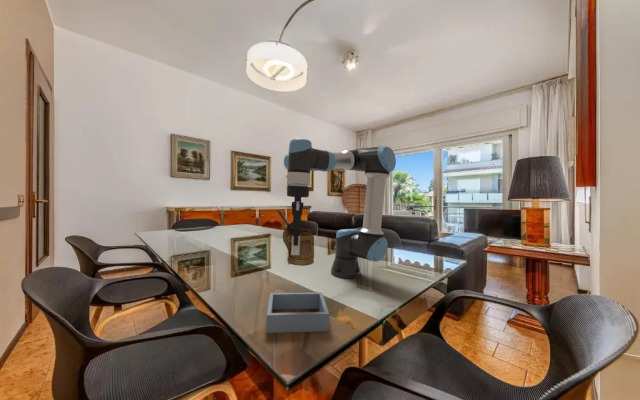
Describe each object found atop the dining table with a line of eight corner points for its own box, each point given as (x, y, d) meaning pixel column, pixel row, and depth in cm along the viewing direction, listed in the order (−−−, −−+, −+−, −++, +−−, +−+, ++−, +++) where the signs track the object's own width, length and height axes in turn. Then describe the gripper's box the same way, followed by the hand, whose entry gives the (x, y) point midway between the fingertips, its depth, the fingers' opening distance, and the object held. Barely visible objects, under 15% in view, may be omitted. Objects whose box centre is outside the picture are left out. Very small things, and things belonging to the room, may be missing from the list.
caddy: (321, 306, 92) (322, 292, 92) (328, 331, 77) (329, 313, 77) (269, 307, 90) (270, 293, 89) (266, 333, 75) (266, 315, 74)
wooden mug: (274, 258, 89) (276, 208, 89) (311, 258, 92) (314, 209, 91) (274, 266, 81) (277, 210, 80) (315, 265, 83) (318, 212, 82)
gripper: (288, 185, 94) (285, 244, 96) (286, 184, 75) (282, 259, 76) (307, 186, 95) (304, 245, 96) (311, 185, 76) (307, 260, 77)
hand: (295, 251), depth 86 cm, fingers closed on wooden mug, 7 cm apart
